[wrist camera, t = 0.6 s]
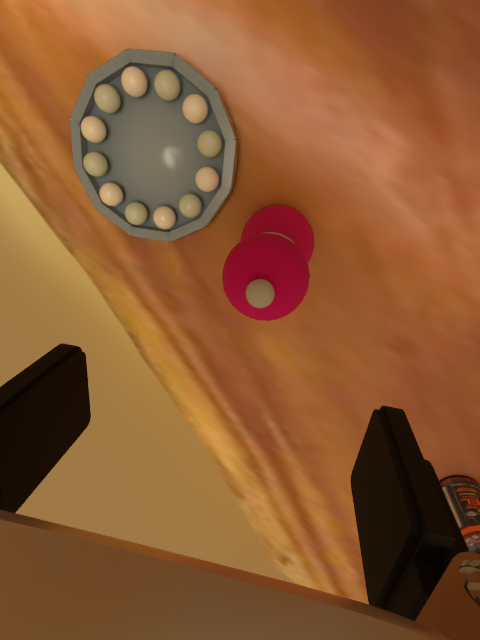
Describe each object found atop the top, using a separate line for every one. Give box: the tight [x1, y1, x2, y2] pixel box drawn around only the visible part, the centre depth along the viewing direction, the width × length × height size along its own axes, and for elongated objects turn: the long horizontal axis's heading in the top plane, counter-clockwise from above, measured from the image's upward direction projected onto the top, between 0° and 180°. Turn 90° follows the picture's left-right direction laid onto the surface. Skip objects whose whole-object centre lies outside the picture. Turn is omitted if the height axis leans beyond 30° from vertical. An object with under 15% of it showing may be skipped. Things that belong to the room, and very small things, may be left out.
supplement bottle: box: [440, 477, 480, 554], centre depth 43 cm, size 6×6×11 cm
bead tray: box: [70, 49, 238, 242], centre depth 35 cm, size 17×17×4 cm
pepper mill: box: [223, 205, 314, 321], centre depth 29 cm, size 7×7×20 cm
